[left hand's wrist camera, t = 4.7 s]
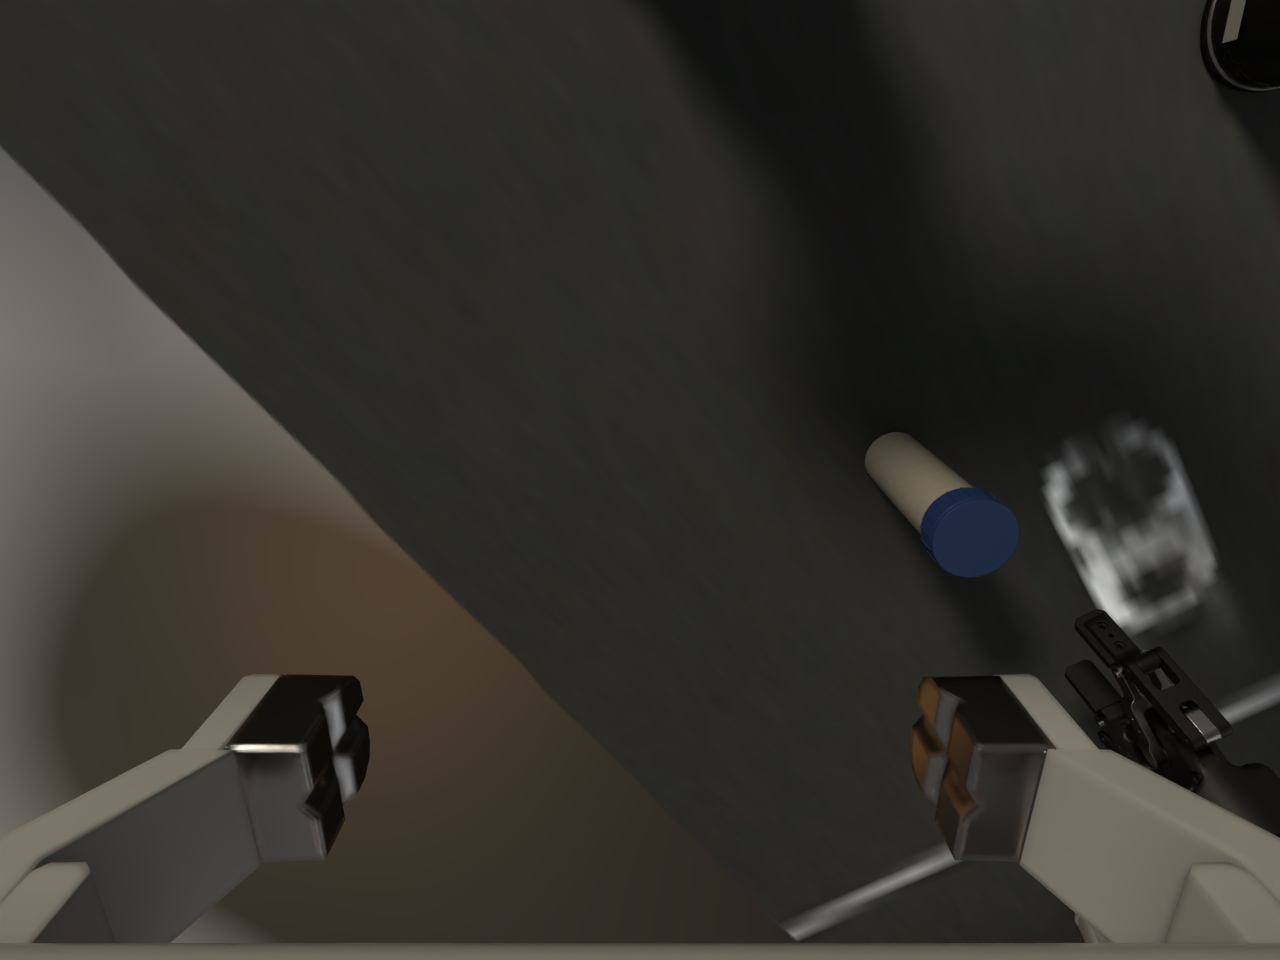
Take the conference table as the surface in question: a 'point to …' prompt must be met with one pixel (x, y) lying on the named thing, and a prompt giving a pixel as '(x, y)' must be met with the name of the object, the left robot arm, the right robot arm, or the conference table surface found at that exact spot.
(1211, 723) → the right robot arm
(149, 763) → the left robot arm
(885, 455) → the jar
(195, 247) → the conference table surface
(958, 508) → the lid
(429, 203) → the conference table surface
